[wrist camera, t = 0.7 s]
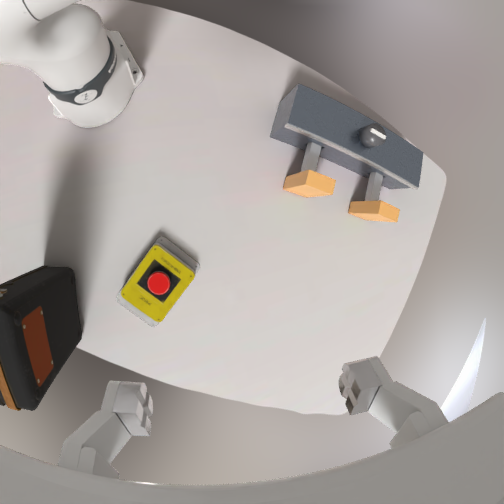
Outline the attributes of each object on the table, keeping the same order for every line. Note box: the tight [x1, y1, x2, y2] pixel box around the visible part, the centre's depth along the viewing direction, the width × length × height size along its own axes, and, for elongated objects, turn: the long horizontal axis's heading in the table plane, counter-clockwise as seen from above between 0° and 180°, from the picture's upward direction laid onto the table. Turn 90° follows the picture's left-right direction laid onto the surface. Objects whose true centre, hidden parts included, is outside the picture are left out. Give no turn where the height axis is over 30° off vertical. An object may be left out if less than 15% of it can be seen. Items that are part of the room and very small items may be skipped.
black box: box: [0, 266, 82, 411], centre depth 33 cm, size 16×9×25 cm, turn 178°
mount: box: [270, 84, 423, 189], centre depth 50 cm, size 8×30×10 cm, turn 74°
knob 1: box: [283, 142, 336, 198], centre depth 48 cm, size 14×5×10 cm, turn 164°
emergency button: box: [117, 236, 200, 327], centre depth 48 cm, size 9×4×15 cm
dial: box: [359, 123, 386, 148], centre depth 44 cm, size 4×4×3 cm
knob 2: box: [348, 172, 400, 222], centre depth 52 cm, size 14×5×10 cm, turn 164°
